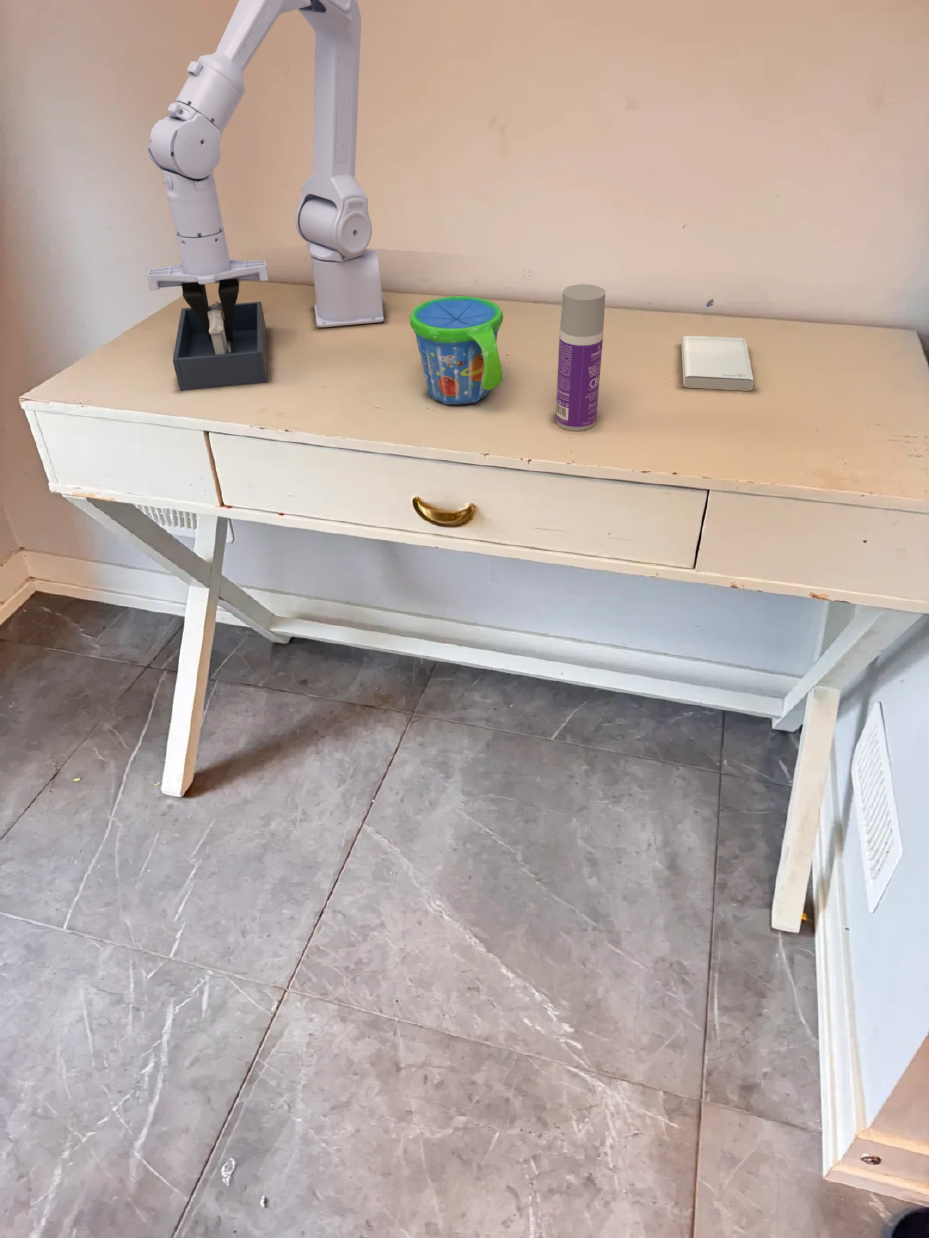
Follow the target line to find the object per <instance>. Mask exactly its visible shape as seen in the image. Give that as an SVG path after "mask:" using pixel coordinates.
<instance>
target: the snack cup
mask: <svg viewBox="0 0 929 1238" xmlns="http://www.w3.org/2000/svg"><path fill="white" fill-rule="evenodd" d="M503 320H504V312H503V311H502V309H501V308H500V306H499V305H498V304H497V303H495V302H493V301H491V300H488V299H485V298H482V297H476V296H468V295H467V296H466V295H465V296H464V295H463V296H462V295H457V296H456V295H455V296H444V297H437V298H434V299H429V300H426V301H424V302H422V303H420V304H418V305H417V306H415V307H414V308H413V309H412V311H411V313H410V316H409V325H410V328H411V329H412V331H413V333H414V334H415V338H416V343H417V349H418V352H419V355H420V361H421V366H422V372H423V374H424V380H425V384H426V388H427V392H428V395H430V397H431V398H432V399H434V400H436V401H438V402H440V403H443V404H444V405H467V404H471V403H472V404H475V403H477V402H478V401H480V400H482V399H483V398H485V396H486V395H488V393H489V391H490V390H494V389H495V388H497V387H498V386H499V385H500V384H501V383H502V380H503V370H502V365H501V360H500V355H499V351H498V350H499V349H498V342H497V339H498V332H499V331H500V329H501V325H502V324H503Z"/></svg>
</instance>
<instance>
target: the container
mask: <svg viewBox="0 0 929 1238" xmlns="http://www.w3.org/2000/svg"><path fill="white" fill-rule="evenodd" d="M561 299H562V300H561V311H560V312H561V313H560V314H561V315H560V326H559V336H558V337H559V338H558V357H557V358H558V359H557V377H556V378H557V379H556V380H557V381H556V382H557V383H556V399H555V400H556V401H555V402H556V403H555V424H556V425H557V427H559V428H561V429H564V430H567V431H571V432H582V431H587V430H589V429H592V428H593V427H595V425H596V424H597V417H598V416H597V414H598V402H599V392H600V391H599V389H600V380H601V368H602V366H601V365H602V356H603V355H602V354H603V344H604V325H605V324H604V323H605V309H606V308H605V307H606V290H605V289H604V288H602V287H601V286H598V285H594V284H588V283H586V284H585V283H579V284H572V285H569V286H566V287H564V288H563V290H562V297H561Z"/></svg>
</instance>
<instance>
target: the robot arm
mask: <svg viewBox="0 0 929 1238" xmlns="http://www.w3.org/2000/svg"><path fill="white" fill-rule="evenodd" d="M296 10H297V11H298V12H299V13H300V14H301V15H302V17H303V18H304V19H305V20H306V22H307V23H308V24H309V26H310V27H311V29H313V31H314V78H313V79H314V80H313V81H314V84H313V85H314V86H313V87H314V88H313V89H314V90H313V136H312V137H313V138H312V139H313V140H312V141H313V143H312V154H313V155H312V173H311V174H310V176H309V177H308V178H307V179H306V180H305V181H304V183H302V186H301V196H300V197H301V198H300V202H299V205H298V207H297V208H296V213H295V228H296V230H297V233H298V234H299V236H300V237H301V239H303V241H305V242H306V245H307V251H309V254H310V262H311V270H312V278H313V284H314V285H313V286H314V292H315V300H316V304H314V305H313V309H314V314H315V315H314V316H315V322H316V327H317V328H329V327H343V326H352V325H363V324H365V325H366V324H374V323H376V324H377V323H383V322H384V321H385V318H384V317H385V316H384V307H383V304H384V294H383V289H382V283H381V272H380V263H379V256H378V252H377V250H376V249H367V247H368V246H369V245H370V242H371V239H372V235H373V224H372V221H371V217H370V215H369V209H368V208H369V205H368V203H369V198H368V195H367V194H366V192H365V191H364V189H363V188H362V187H361V185H360V183H359V182H358V180H357V179H356V160H357V159H356V157H357V137H358V136H357V133H358V112H359V111H358V106H359V86H360V84H359V83H360V61H361V38H362V37H361V35H362V33H361V32H362V16H361V10H360V5H359V3H358V0H238V3H237V5H236V7H235V8H234V11H233V13H232V15H231V18H230V19H229V21H228V24H227V26H226V28H225V31H224V33H223V35H222V37H221V39H220V41H219V43H218V45H217V48H216V50H215V52H214V53H210V54H203V55H200V56H199V57H198V59H197V61H194V60H191V61H190V63H189V64H188V66H187V68H186V72H187V73H188V74H189V76H188V77H187V79H186V81H185V83H184V85H183V87H182V88H181V90H180V92H179V94H178V96H177V98H176V100H175V102H171V103H170V104H169V106H168V108H167V112H168V116H165V117H163V118H162V119H159V120H157V121H156V123H155V124H154V126H153V127H152V129H151V131H150V135H149V146H147V147H146V151H147V154H148V156H149V158H150V160H151V162H152V164H154V165H155V166H156V167H157V168H158V169H159V171H160V172H161V174H162V178H163V183H164V187H165V192H166V196H167V200H168V206H169V208H170V215H171V219H172V223H173V227H174V232H175V237H176V241H177V246H178V250H179V255H180V260H181V264H176V265H172V266H171V265H170V266H165V267H160V268H159V267H158V268H151V269H147V273H146V278H147V283H148V285H149V291H159V290H160V289H164V288H173V287H181V290H182V297H183V300H184V301H185V302H186V304H187V305H188V306H189V308H192V310H193V311H194V312H195V314H196V315H197V317H198V318H199V320H200V322H201V323H202V325H203V327H204V329H205V331H206V333H207V336H208V338H209V341H210V343H213V341H212V337H211V334H210V333H209V329H210V325H209V324H210V323H209V322H210V321H209V319H208V317H209V316H208V314H207V313H208V311H209V306H210V305H209V300H208V295H207V289H206V285H211V284H213V285H214V284H218V290H217V293H218V297H219V301H220V303H221V305H222V310H223V314H224V319H225V327H226V335H227V340H228V341H233V338H234V334H233V315H234V309H235V305H236V304H237V301H238V296H239V293H240V282H247V281H260V282H267V281H269V278H270V277H269V276H270V275H269V270H268V264H267V260H265V259H264V260H243V259H242V260H241V259H238V260H237V259H230V256H229V251H228V244H227V239H226V233H225V228H224V222H223V217H222V212H221V207H220V201H219V195H218V190H217V187H216V186H217V185H216V181H215V175H214V170H215V169H216V168H217V167H218V166H219V163H220V160H221V159H220V158H221V147H220V142H221V140H222V137H223V136H222V135H223V133H224V131H225V129H226V128H227V125H228V124H229V122H230V121H231V118H232V117H233V115H234V113H235V111H236V109H237V107H238V106H239V104H240V103H241V100H242V98H243V96H244V95H245V93H246V88H245V87H246V86H245V83H244V78H243V77H244V76H243V73H244V71H245V70H246V69H247V67H248V65H249V64H250V62H251V61H252V59H253V58H254V56H255V54H256V52H257V51H258V50H259V48H260V47H261V45H262V43H263V42H264V40H265V39H266V37H267V36H268V34H269V33H270V31H271V29H272V27H273V26H274V24H275V23H276V21H277V19H278V18H279V17H280V16H281V15H283V14H285V13H289V12H293V11H296Z"/></svg>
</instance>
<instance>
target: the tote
mask: <svg viewBox="0 0 929 1238" xmlns="http://www.w3.org/2000/svg"><path fill="white" fill-rule="evenodd" d="M262 302H263V301H260V300H259V301H252V302H251V301H249V302H241V303H236V305H235V309H234V315H233V334H234V338H233V341H230V347H231V353H227V354H215V350H214V346H213V343H210V341H209V338H208V336H207V333H206V331H205V329H204V327H203V325H202V323H201V322H200V320H199V318H198V317H197V315H196V314H195V312H194V311H193V310H192V308H191V307H182V308H180V309H181V310H180V315H179V321H178V327H177V333H176V339H175V345H174V349H173V350H174V351H173V356H172V363H173V364H172V365H173V368H174V372H175V375H176V376H175V377H176V379H177V384H178V388H179V391H188V390H199V389H209V388H219V387H231V386H240V385H241V386H242V385H252V384H262V383H268V356H267V355H268V354H267V351H268V350H267V349H268V347H267V326H266V321H265V315H264V308H263V303H262ZM211 306H212V305H209V310H211V309H212V307H211Z"/></svg>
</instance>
